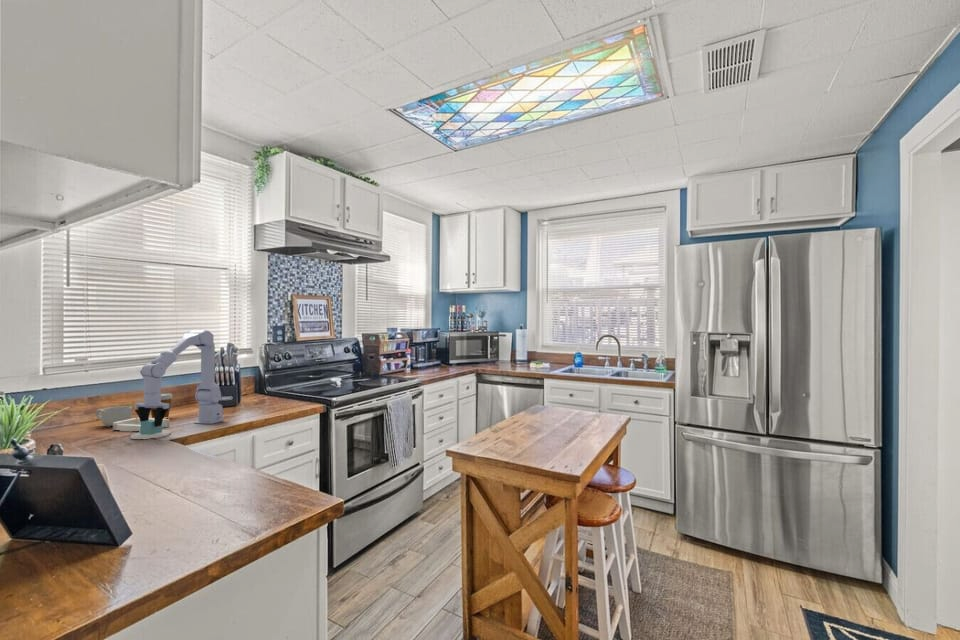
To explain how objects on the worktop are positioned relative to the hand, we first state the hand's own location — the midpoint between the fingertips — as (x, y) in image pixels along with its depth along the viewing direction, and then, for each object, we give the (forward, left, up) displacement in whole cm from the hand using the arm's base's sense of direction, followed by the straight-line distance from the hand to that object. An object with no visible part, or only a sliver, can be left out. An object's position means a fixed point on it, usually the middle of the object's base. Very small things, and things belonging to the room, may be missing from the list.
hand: (151, 425), depth 174 cm
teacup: (+34, -13, -4) cm, 37 cm away
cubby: (+16, -10, -4) cm, 19 cm away
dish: (-1, +1, -4) cm, 4 cm away
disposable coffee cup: (+26, -29, -4) cm, 39 cm away
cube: (0, 0, -3) cm, 3 cm away
